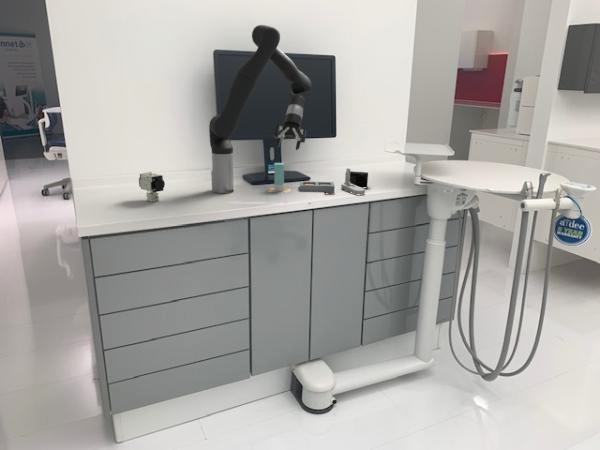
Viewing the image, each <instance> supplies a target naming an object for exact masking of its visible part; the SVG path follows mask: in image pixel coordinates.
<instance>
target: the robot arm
mask: <svg viewBox="0 0 600 450" xmlns="http://www.w3.org/2000/svg"><path fill="white" fill-rule="evenodd" d="M251 39H252V42H253V43H254V45H255V46H256V47H257V48H256V51H255V53H254V54H253V55H252V56H251V58H249V59H248V60H247V61H246V62H244V64H242V65H241V66H240V68H239V69H238V71H237V72H236V74H235V76H234V78H233V80H232V83H231V86H230V88H229V93H228V98H227V100H226V103H225V106H224V108H223V109H222V111H221V113H220V114H216V115H214V116H213V117H212V118H211V119H210V121H209V125H208V127H209V129H208V130H209V131H208V132H209V143H210V144H209V145H210V149H211V165H212V167H211V168H212V169H211V173H210V174H211V175H210V176H211V192H212V193H216V194H230V193H233V192H234V191H235V190H234V189H235V185H234V183H235V181H234V148H233V144H232V141H231V140H232V139H231V136H232V135H233V134H234V132H235V129H236V126H237V124H238V121H239V118H240V117H241V113H242V112H243V110H244V108H245V106H246V104H247V103H248V100H249V99H250V96H251V95H252V93H253V90H254V89H255V88H256V85H257V84H258V81H259V79H260V77H261V75H262V73H263V71H264V69H265V67H266V65H267V64H268V62H269V61H270V60H271V62H272V63H273V64H274V65H275V67H276V68H277V69H278V70H279V72H280V73H281V74H282V75H283V77H284V78H285V80H286V81H287V82H290V83H291V82H292V83H291V84H290V83H289V85H290V88H289V87H288V89H289V102H288V106H287V107H288V108H287V110H286V114H285V119H284V124H283V125H280V124H277V125H276V127H275V130H274V138H275V139H276V146H277V148H280V146H281V141H282V139H284V138H285V137H288V138H295V139H296V141H297V142H296V145H295V151H298V150H299V149H300V146H301V144H302V143H303V144H304V143H305V142H306V135H307V129H306V128H301V125H302V120H303V115H304V114H303V113H304V107H305V101H306V99H305V97H304V96H303V95H302V94H307V93H309V92H311V90H312V87H313V86H312V85H313V84H312V82H311V79H310V78H309V77H308V76H307V75H306V74H305V73H303V72H302V71H301V70H299V69H298V67H297V65H296V64H295V63H294V61H293V60H292V59H291V58H290V57H289V56H287V54H286V53H284V52H283V51H282V50H281V49H280V48H279V47H278V46H279V44H280V40H281V32H280V30H279V29H278V28H277V27H274V26H271V25H267V24H265V25H264V24H259V25H256V26H255V27H254V28H253V29H252V32H251ZM297 94H299V95H297ZM280 131H282V132H280ZM279 132H280V134H279ZM300 133H301V134H302V136H301V138H300V136H299V134H300Z"/></svg>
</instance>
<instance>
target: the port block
mask: <svg viewBox="0 0 600 450" xmlns="http://www.w3.org/2000/svg"><path fill="white" fill-rule="evenodd" d="M335 187H336V186H335V183H334V181H311V180H309V181H308V180H307V181H306V180H305V181H303V180H302V181H299V192H321V193H323V194H324V193H334V194H335V189H336V188H335Z"/></svg>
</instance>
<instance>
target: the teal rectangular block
mask: <svg viewBox="0 0 600 450" xmlns="http://www.w3.org/2000/svg"><path fill="white" fill-rule="evenodd" d="M273 170H274V173H273V174H274V177H273V178H274V184H273V185H274V187H273V188H274V191H284V187H285V163H284V162H274V169H273Z"/></svg>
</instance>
